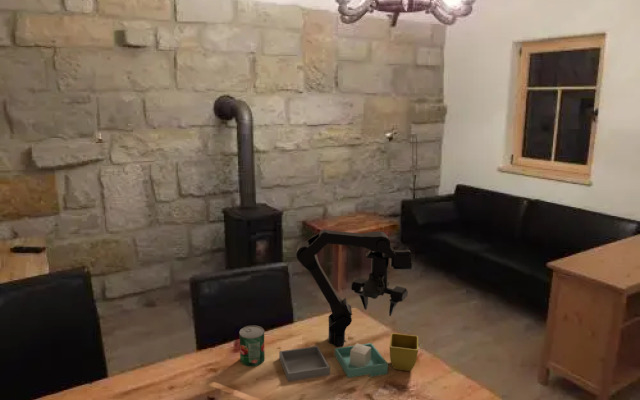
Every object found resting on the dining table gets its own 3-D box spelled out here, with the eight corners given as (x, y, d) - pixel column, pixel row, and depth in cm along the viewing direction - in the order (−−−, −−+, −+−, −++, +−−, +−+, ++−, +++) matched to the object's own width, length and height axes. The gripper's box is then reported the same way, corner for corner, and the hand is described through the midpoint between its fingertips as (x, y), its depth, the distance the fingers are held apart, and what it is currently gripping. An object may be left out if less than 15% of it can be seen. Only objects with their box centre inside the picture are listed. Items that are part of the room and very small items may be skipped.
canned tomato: (269, 362, 152) (269, 331, 150) (250, 372, 146) (250, 340, 144) (254, 353, 157) (253, 323, 155) (235, 362, 152) (234, 331, 149)
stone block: (349, 364, 150) (350, 350, 149) (356, 357, 154) (356, 343, 153) (364, 369, 147) (364, 354, 146) (370, 361, 152) (371, 347, 151)
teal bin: (334, 357, 155) (334, 348, 154) (371, 352, 159) (371, 342, 158) (348, 380, 143) (348, 370, 142) (387, 373, 147) (387, 363, 146)
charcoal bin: (279, 361, 153) (279, 351, 152) (317, 355, 156) (317, 345, 156) (288, 384, 141) (288, 373, 140) (329, 377, 144) (329, 367, 144)
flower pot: (416, 376, 146) (418, 349, 144) (388, 372, 147) (389, 346, 146) (416, 360, 154) (418, 335, 152) (389, 357, 156) (391, 332, 154)
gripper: (343, 271, 156) (342, 314, 159) (396, 283, 147) (394, 329, 150) (358, 261, 165) (357, 302, 169) (409, 272, 156) (407, 315, 159)
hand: (377, 312), depth 161 cm, fingers open, 9 cm apart
